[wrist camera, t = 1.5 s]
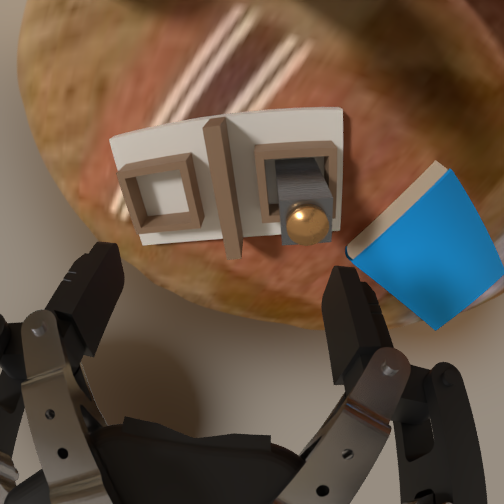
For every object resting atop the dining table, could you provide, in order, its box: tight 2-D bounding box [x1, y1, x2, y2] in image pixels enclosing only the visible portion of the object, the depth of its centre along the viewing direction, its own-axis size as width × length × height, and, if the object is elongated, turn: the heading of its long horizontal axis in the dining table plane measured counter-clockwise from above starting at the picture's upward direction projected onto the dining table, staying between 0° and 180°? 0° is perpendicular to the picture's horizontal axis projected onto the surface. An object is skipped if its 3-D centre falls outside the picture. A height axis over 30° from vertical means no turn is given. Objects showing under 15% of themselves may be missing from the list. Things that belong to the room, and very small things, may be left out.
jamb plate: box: [109, 107, 343, 260], centre depth 29 cm, size 24×14×6 cm, turn 96°
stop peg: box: [275, 158, 333, 245], centre depth 26 cm, size 4×4×10 cm
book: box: [345, 161, 504, 331], centre depth 36 cm, size 17×4×25 cm
